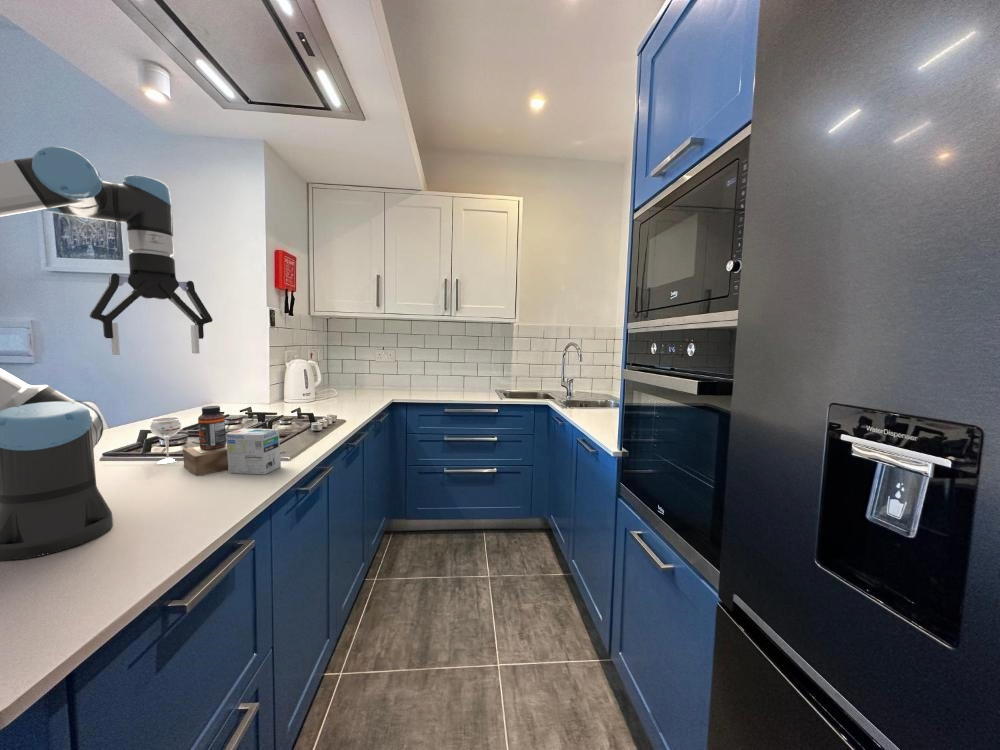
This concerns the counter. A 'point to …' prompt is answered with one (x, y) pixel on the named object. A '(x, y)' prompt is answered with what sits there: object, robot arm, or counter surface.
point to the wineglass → (165, 432)
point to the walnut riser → (205, 460)
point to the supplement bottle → (211, 428)
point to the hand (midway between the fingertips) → (158, 354)
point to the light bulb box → (253, 451)
